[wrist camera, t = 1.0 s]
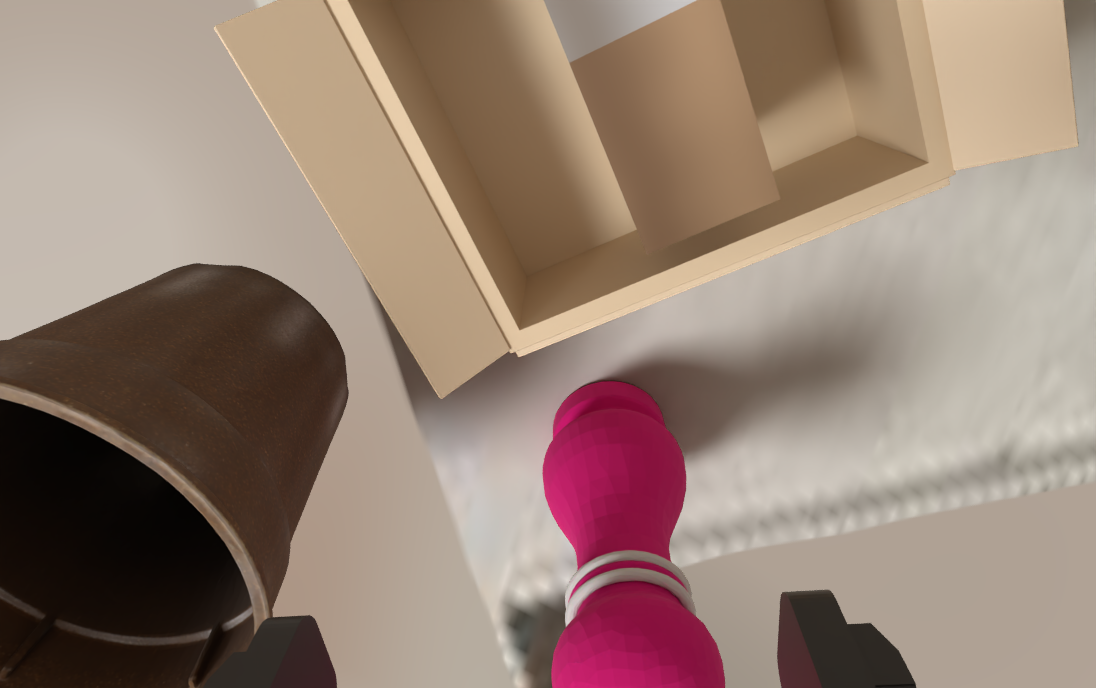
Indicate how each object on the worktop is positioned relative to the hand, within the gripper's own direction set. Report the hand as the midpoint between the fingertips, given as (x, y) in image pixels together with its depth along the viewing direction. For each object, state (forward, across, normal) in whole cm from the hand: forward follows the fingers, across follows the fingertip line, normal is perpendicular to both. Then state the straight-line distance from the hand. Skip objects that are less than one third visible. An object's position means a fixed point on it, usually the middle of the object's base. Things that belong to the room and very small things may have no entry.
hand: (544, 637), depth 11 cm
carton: (+24, -4, -7) cm, 25 cm away
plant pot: (+23, +18, +5) cm, 30 cm away
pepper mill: (+24, -1, +11) cm, 26 cm away
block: (+23, -4, -7) cm, 24 cm away
